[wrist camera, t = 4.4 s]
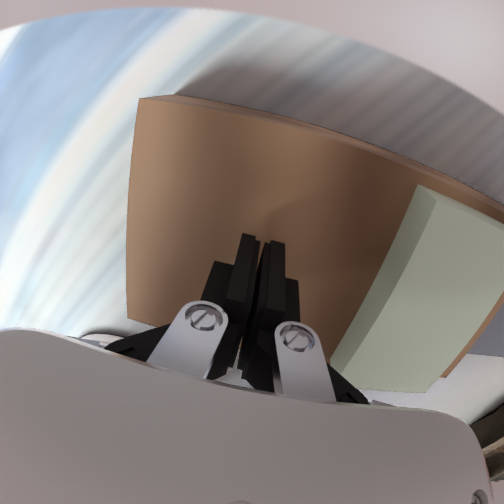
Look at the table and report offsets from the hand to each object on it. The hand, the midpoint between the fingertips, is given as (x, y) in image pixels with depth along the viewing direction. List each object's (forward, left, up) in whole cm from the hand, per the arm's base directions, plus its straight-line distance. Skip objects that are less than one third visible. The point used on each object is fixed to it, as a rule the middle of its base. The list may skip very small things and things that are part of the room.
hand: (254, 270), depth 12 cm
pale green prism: (-4, -7, -1) cm, 8 cm away
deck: (-2, -4, -5) cm, 7 cm away
